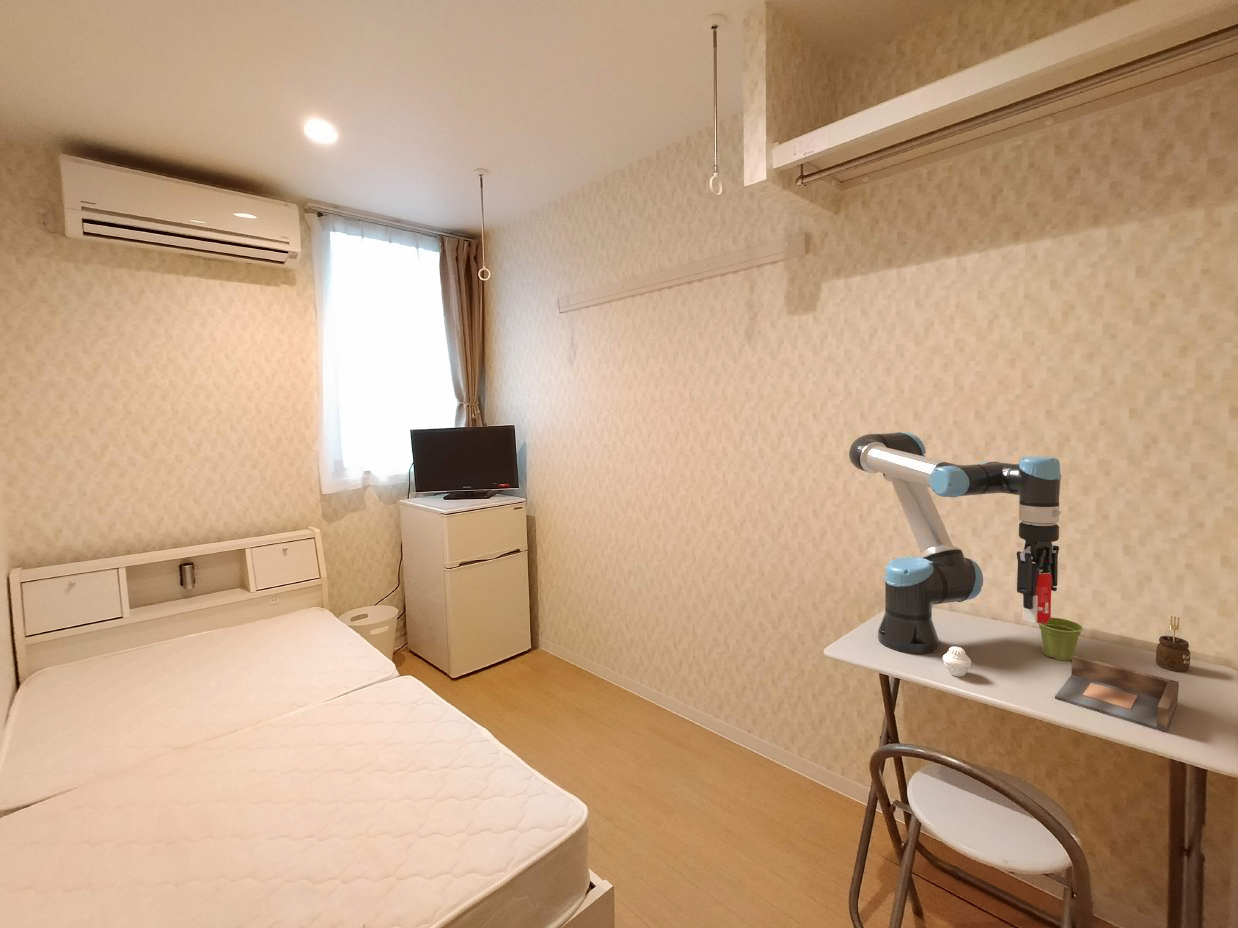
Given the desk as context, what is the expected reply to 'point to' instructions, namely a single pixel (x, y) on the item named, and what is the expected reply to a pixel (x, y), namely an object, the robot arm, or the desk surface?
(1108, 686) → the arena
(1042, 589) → the beverage can
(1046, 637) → the plant pot
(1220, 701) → the desk surface
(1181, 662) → the utensil holder
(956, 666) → the muffin
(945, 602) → the robot arm
